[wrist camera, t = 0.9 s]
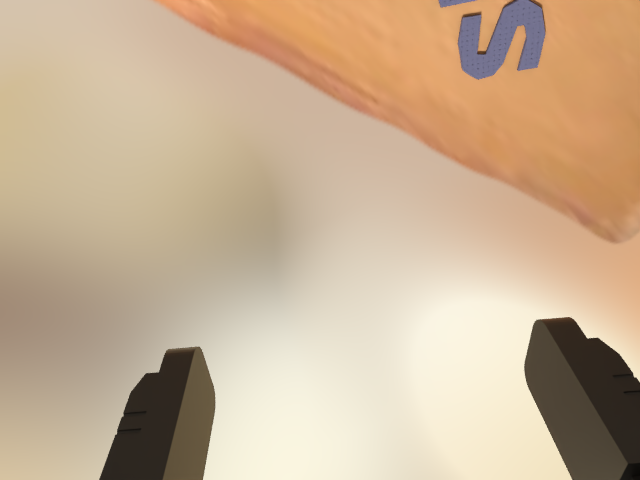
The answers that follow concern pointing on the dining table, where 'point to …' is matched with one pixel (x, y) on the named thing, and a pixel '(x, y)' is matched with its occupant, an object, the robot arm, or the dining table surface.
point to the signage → (500, 38)
